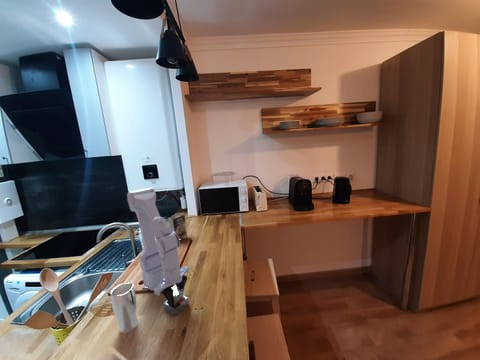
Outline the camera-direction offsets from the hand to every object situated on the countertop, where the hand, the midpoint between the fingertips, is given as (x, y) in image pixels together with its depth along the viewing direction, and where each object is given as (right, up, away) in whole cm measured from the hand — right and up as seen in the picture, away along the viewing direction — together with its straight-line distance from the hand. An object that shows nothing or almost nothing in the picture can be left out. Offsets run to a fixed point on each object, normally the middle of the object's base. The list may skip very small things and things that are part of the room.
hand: (175, 299), depth 75 cm
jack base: (0, -4, +1) cm, 4 cm away
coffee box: (-17, +4, +61) cm, 63 cm away
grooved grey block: (0, -3, +1) cm, 3 cm away
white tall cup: (-14, -7, -6) cm, 17 cm away
